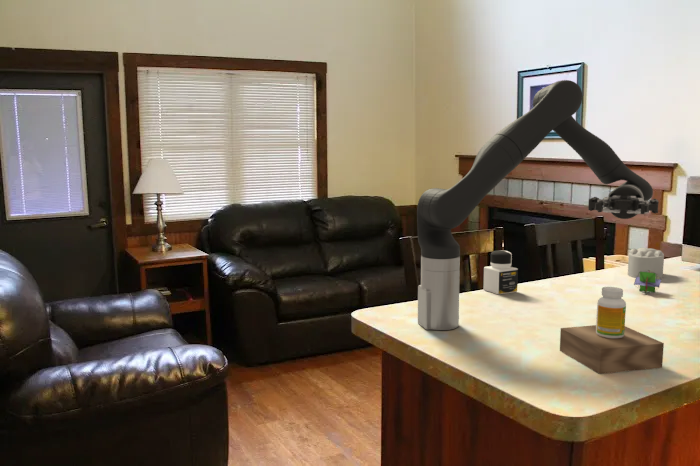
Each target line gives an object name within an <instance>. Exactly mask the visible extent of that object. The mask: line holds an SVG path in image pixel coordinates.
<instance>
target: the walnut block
mask: <svg viewBox="0 0 700 466" xmlns="http://www.w3.org/2000/svg"><path fill="white" fill-rule="evenodd" d="M559 332H560V336H559V337H560V338H559V351H560V352H561V353H563V354H564V355H566V356H568V357H569V358H571V359H573V360H574V361H577V362H578V363H580V364H581V365H583V366H585V367H587V368H588V369H590V370H591V371H593V372H595V373H597V374H599V375H603V374H604V375H605V374H606V375H607V374H612V373H624V372H633V371H641V370H642V371H643V370H652V369H660V368H661V369H663V359H664V347H665V346H664V345H665V343H664V342H661V341H659V340H657V339H655V338H653V337H650V336H649V335H646V334H644V333H641V332H639V331H637V330H635V329H632V328H630V327H628V326H626V325H625V331H624V336H623V337H622V338H617V339H611V338H605V337H601V336H599V335H597V334H596V324H594V325H581V326H573V327H572V326H571V327H560V331H559Z"/></svg>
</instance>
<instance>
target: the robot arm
mask: <svg viewBox="0 0 700 466" xmlns="http://www.w3.org/2000/svg"><path fill="white" fill-rule="evenodd" d="M582 102H583V90H582V88H581V87H580V85H579V84H578V83H577V82H575V81H573V80H568V79H562V80H557V81H555V82H553V83H550V84H549V85H547V86H545V87H543V88H540V90H538V91H537V92H536V93H535V95H534V96H533V100H532V106H533V107H532V108H531V109H530V110H529V111H528V112H526V113H525V114H523V115H522V116H520V117H518V118H516V119H515V120H514V121H512V122H510V123H509V124H507V125H506V126H504V127H503V128H502V129H500V131H498V132H496V133H495V134H494V135H493V136H492V137H491V138H490V139H489V140H488V141H487V142H485V144H484V145H483V146H482V147H480V149H479V151H478V152H477V153H476V156H475V158H474V161H473V164H472V166H471V168H470V169H469V171H468V172H467V174H465V175H464V177H462V178H461V179H460V180H459V181H458V182H456V183H455V184H454V185H452V186H451V187H449V188H448V189H447V188H439V187H438V188H437V187H434V188H432V187H431V188H429V189H427V190H425V191H423V193H422V194H421V196H420V197H419V199H418V202H417V210H416V223H417V224H416V225H417V227H416V228H417V242H418V245H419V248H420V254H421V255H420V284H419V285H418V286H417V323H418V324H419V325H420V326H421V327H423V329H425V330H434V331H449V330H454V329H457V328H459V325H460V273H461V272H460V262H461V248H460V247H461V246H460V244H459V242H458V241H457V240H455V238H454V235H453V232H452V229H455V228H458V227H459V226H460V225H462V224H463V222H464V221H465V220H466V219H467V218H468V217H469V216H470V214H472V212H473V211H474V210H475V209H476V207H477V206H478V205H479V204H480V203H481V202H482V201H483V200H484V198H485V197H486V196H487V195H488V194H489V193H490V192H491V191H492V190H493V189H494V188H495V187H496V186H497V185H498V184H500V182H501V181H502V180H503V179H504V178H506V177H507V176H508V175H509V174H510V173H512V172H513V171H514V169H516V168H517V167H518V166H519V165H520V164H521V163H522V162H523V161H524V160H525V159H526V158H527V157H528V156H529V155H530V153H532V152H533V151H534V150H535V149H536V148H537V147H538V146H539V145H540V143H541V142H542V141H544V139H545V138H546V137H547V136H548V135H549V134H550V133H551V132H554V133H555V134H556V135H557V136H559V137H560V138H561V139H562V140H563V141H564V142H565V143H566V144H567V145H568V146H570V147H571V148H572V149H573V151H575V152H576V154H578V155H579V157H580V158H581V159H582V161H584V162H585V164H586V165H587V166H588V167H589V169H590V170H591V171H592V173H594V175H595V176H596V177H597V179H598V180H599V181H600V182H601V183H602V184H603V185H610V184H612V183H616V182H618V181H619V182H620V181H625V182H623V183H622V184H620V185H619V186H618V187H616V188H615V189H613V190H611V191H609V193H608V196H604V197H603V198H602V199H601V198H600V197H597V196H594V197H591V198H588V207H587V208H588V211H590V212H592V211H596V212H597V213H602V212H603V213H607V214H608V213H611V214H612V216H614V217H615V218H617V219H620V220H628V219H629V220H630V219H632V218H634V217H636V216H637V215H639V214H641V215H646V214H649V213H650V212H651V213H652V214H658V213H659V203H660V202H659V200H658V199H657V198H653V195H654V189H653V186H652V185H651V183H649V182H648V181H647V180H646V179H645V178H643V177H642V176H640V175H638V174H637V173H636V172H634V171H633V170H631V169H630V168H629V167H628V166H627V165H626V164H625V163H624V162H623V161H622V160H621V158H620V157H619V156H618V154H617V153H616V152H615V150H614V149H613V148H612V147H611V146H610V145H609V144H608V143H607V142H606V141H604V140H603V139H601V138H600V137H598V136H597V135H595V134H594V133H592V132H591V131H589V130H587V129H586V128H585V127H584V126H582V125H581V124H580V123H579V122H578V121H577V120H576V119H575V118H574V117H573V116H574V115H575V114H576V112H578V110H579V109H580V107H581V105H582ZM652 198H653V199H652Z"/></svg>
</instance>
